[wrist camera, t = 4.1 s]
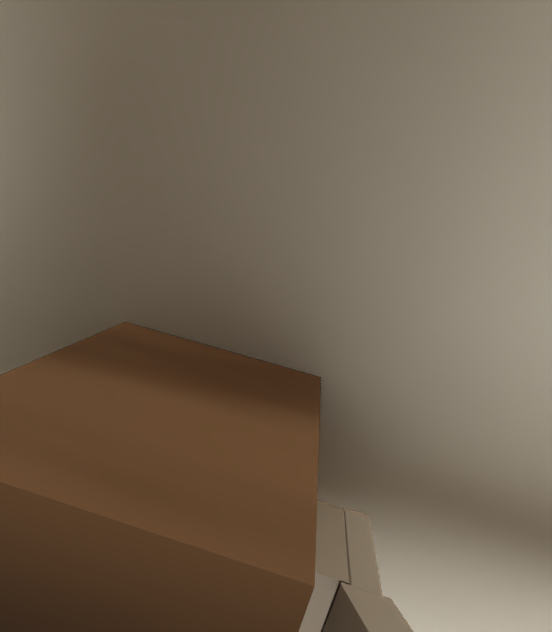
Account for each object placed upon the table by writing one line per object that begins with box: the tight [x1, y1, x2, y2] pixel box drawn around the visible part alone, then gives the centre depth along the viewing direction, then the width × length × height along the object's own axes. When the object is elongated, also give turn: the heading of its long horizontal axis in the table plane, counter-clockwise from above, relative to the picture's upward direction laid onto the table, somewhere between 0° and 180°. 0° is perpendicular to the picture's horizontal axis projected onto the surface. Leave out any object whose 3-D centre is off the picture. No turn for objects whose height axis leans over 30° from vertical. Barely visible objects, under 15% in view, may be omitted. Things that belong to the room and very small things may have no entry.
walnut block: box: [0, 322, 321, 632], centre depth 6 cm, size 5×5×5 cm
